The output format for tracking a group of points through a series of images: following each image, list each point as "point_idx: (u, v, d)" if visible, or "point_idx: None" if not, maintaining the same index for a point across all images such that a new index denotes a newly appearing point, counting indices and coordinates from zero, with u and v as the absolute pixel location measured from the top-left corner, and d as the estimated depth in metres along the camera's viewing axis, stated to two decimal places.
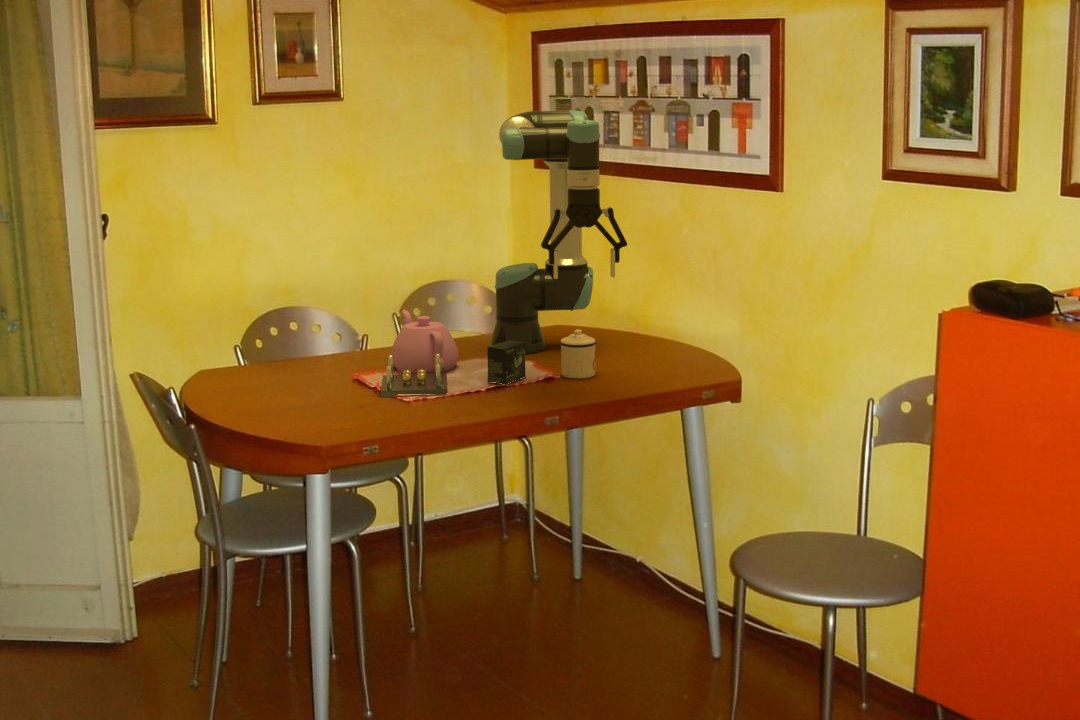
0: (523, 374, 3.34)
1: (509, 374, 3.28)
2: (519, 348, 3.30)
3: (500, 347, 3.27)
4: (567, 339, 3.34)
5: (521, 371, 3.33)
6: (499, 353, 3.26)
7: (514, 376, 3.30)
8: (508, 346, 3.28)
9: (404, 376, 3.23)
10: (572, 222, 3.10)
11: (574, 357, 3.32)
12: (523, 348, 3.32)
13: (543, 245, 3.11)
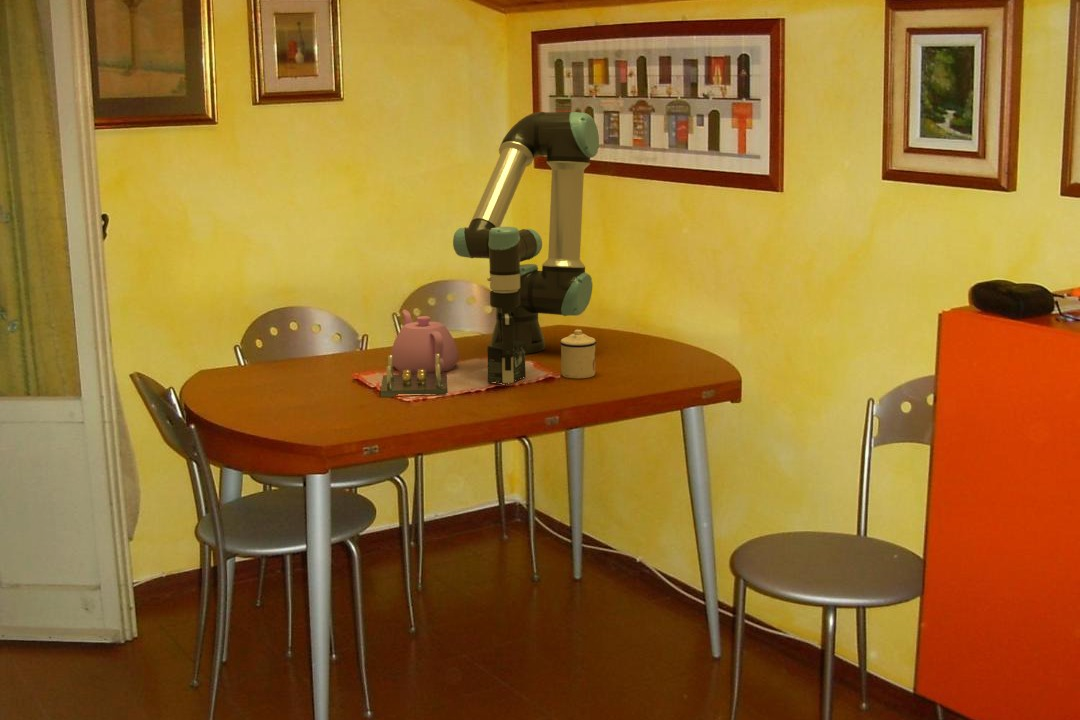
0: (523, 374, 3.33)
1: None
2: (519, 348, 3.30)
3: (500, 347, 3.27)
4: (567, 339, 3.34)
5: (521, 371, 3.32)
6: (499, 353, 3.26)
7: (514, 376, 3.30)
8: None
9: (404, 376, 3.23)
10: None
11: (574, 357, 3.32)
12: (523, 348, 3.32)
13: (499, 339, 3.38)
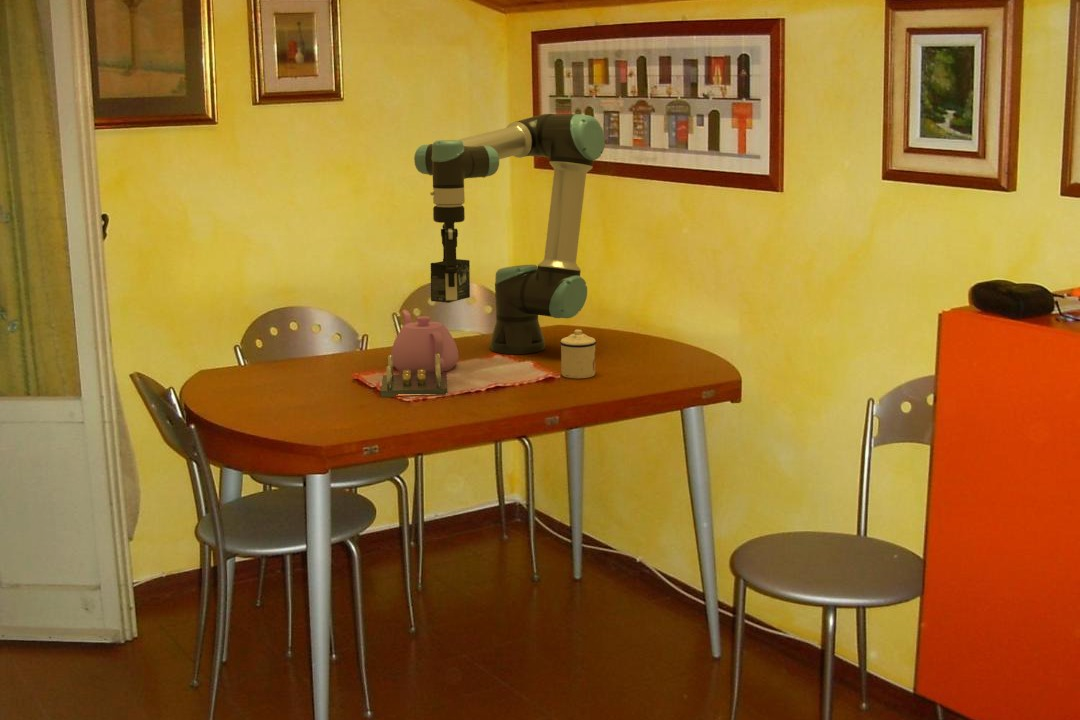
0: (467, 293, 3.25)
1: None
2: (463, 265, 3.22)
3: (443, 263, 3.18)
4: (567, 339, 3.34)
5: (465, 290, 3.24)
6: (442, 269, 3.18)
7: (458, 294, 3.22)
8: None
9: (404, 376, 3.23)
10: None
11: (574, 357, 3.32)
12: (467, 266, 3.24)
13: (443, 258, 3.30)
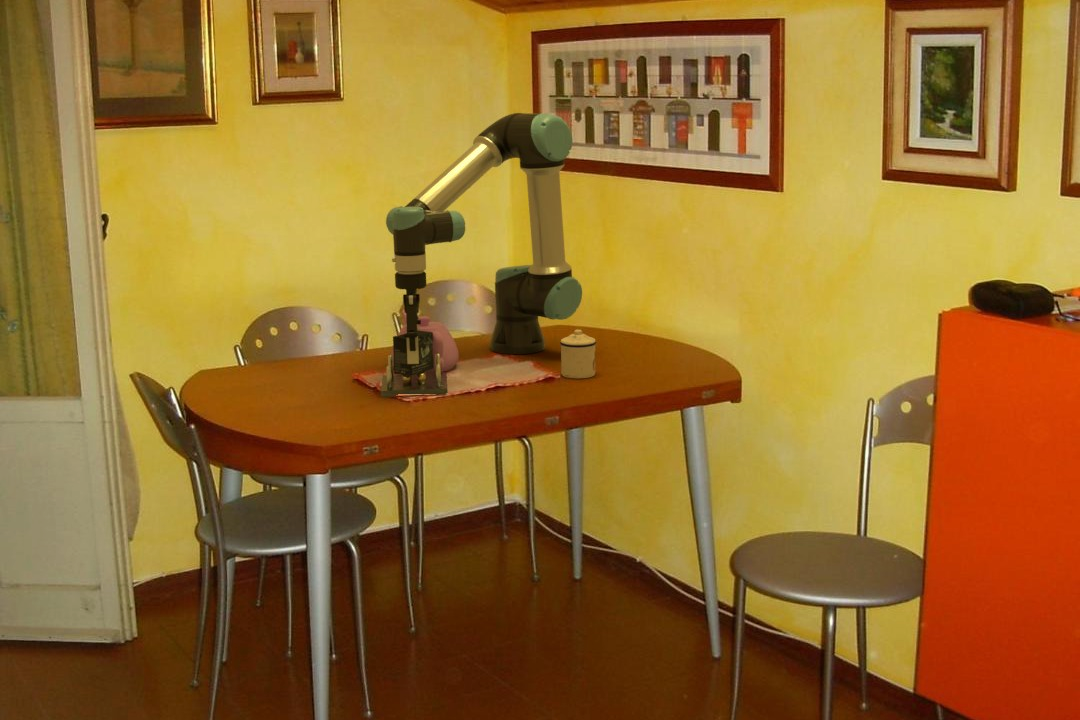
0: (431, 365, 3.27)
1: (415, 365, 3.22)
2: (426, 338, 3.24)
3: None
4: (567, 339, 3.34)
5: (429, 361, 3.26)
6: (404, 343, 3.20)
7: (421, 367, 3.24)
8: None
9: (404, 376, 3.23)
10: None
11: (574, 357, 3.32)
12: (430, 338, 3.26)
13: None
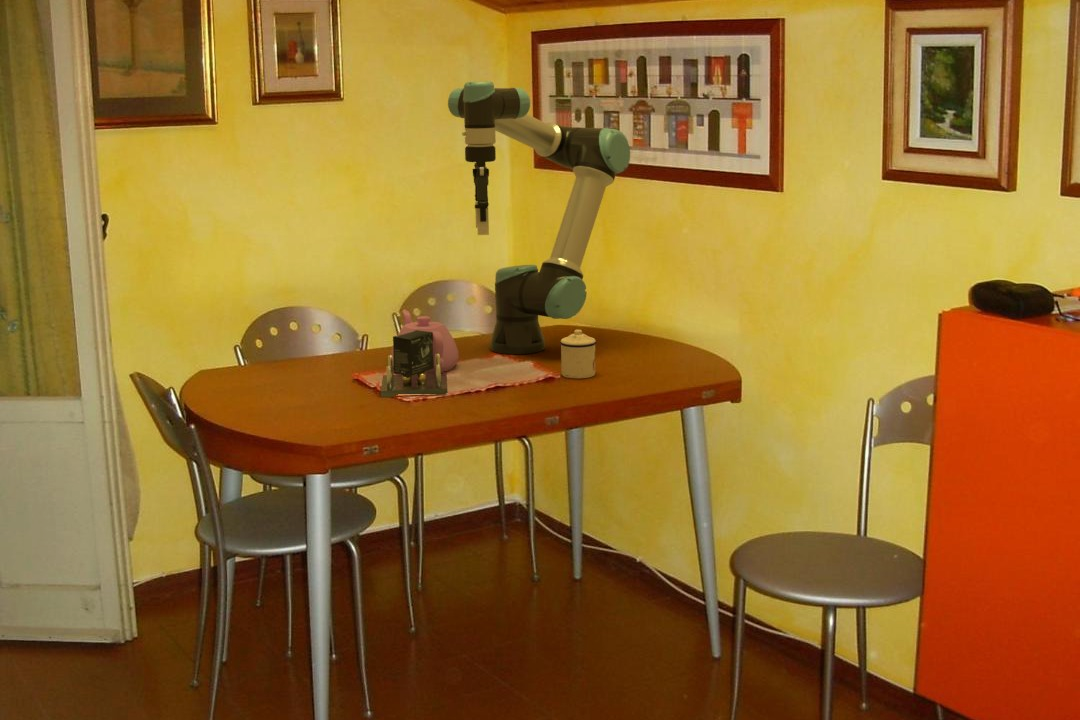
0: (431, 365, 3.27)
1: (415, 365, 3.22)
2: (426, 338, 3.24)
3: (405, 337, 3.21)
4: (567, 339, 3.34)
5: (429, 361, 3.26)
6: (404, 343, 3.20)
7: (421, 367, 3.24)
8: (414, 336, 3.22)
9: (404, 376, 3.23)
10: None
11: (574, 357, 3.32)
12: (430, 338, 3.26)
13: (475, 195, 3.39)
